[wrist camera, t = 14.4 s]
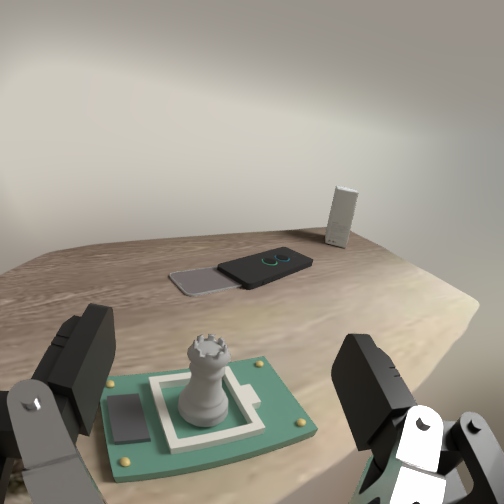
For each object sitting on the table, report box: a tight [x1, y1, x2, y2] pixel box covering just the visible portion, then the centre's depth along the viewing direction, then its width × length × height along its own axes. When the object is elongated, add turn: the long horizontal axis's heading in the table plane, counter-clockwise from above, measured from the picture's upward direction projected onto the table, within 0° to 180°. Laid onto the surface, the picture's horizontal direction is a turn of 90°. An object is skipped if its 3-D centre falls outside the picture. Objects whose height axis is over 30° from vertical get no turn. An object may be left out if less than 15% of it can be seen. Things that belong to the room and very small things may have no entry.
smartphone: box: [170, 266, 242, 297], centre depth 51 cm, size 7×1×15 cm
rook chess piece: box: [178, 334, 231, 427], centre depth 23 cm, size 4×4×8 cm
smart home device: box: [217, 247, 313, 290], centre depth 58 cm, size 8×2×20 cm
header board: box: [100, 356, 318, 483], centre depth 25 cm, size 18×11×2 cm, turn 115°
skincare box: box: [325, 186, 358, 248], centre depth 79 cm, size 8×6×15 cm
